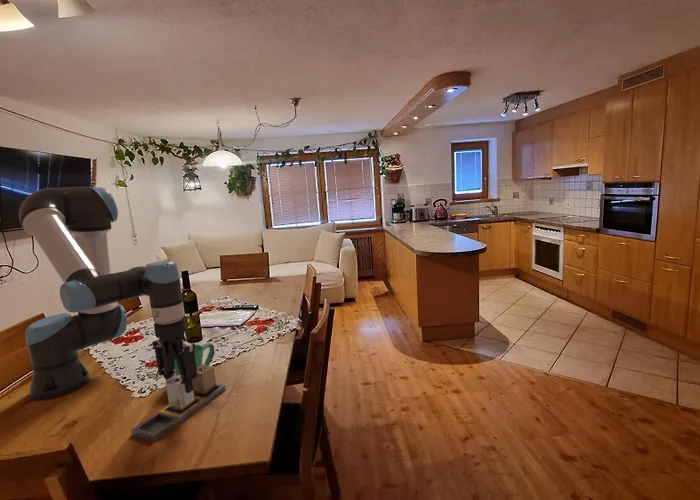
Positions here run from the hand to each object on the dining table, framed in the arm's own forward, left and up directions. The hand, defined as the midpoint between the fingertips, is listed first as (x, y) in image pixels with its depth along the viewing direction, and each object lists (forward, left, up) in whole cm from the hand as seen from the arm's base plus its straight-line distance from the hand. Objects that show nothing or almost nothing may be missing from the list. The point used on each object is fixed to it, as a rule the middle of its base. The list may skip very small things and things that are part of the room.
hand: (181, 400), depth 97 cm
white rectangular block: (0, 0, -2) cm, 2 cm away
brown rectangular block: (0, +8, -3) cm, 8 cm away
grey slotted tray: (0, 0, -3) cm, 3 cm away
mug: (-12, +16, -3) cm, 20 cm away
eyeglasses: (-18, +41, -4) cm, 45 cm away
